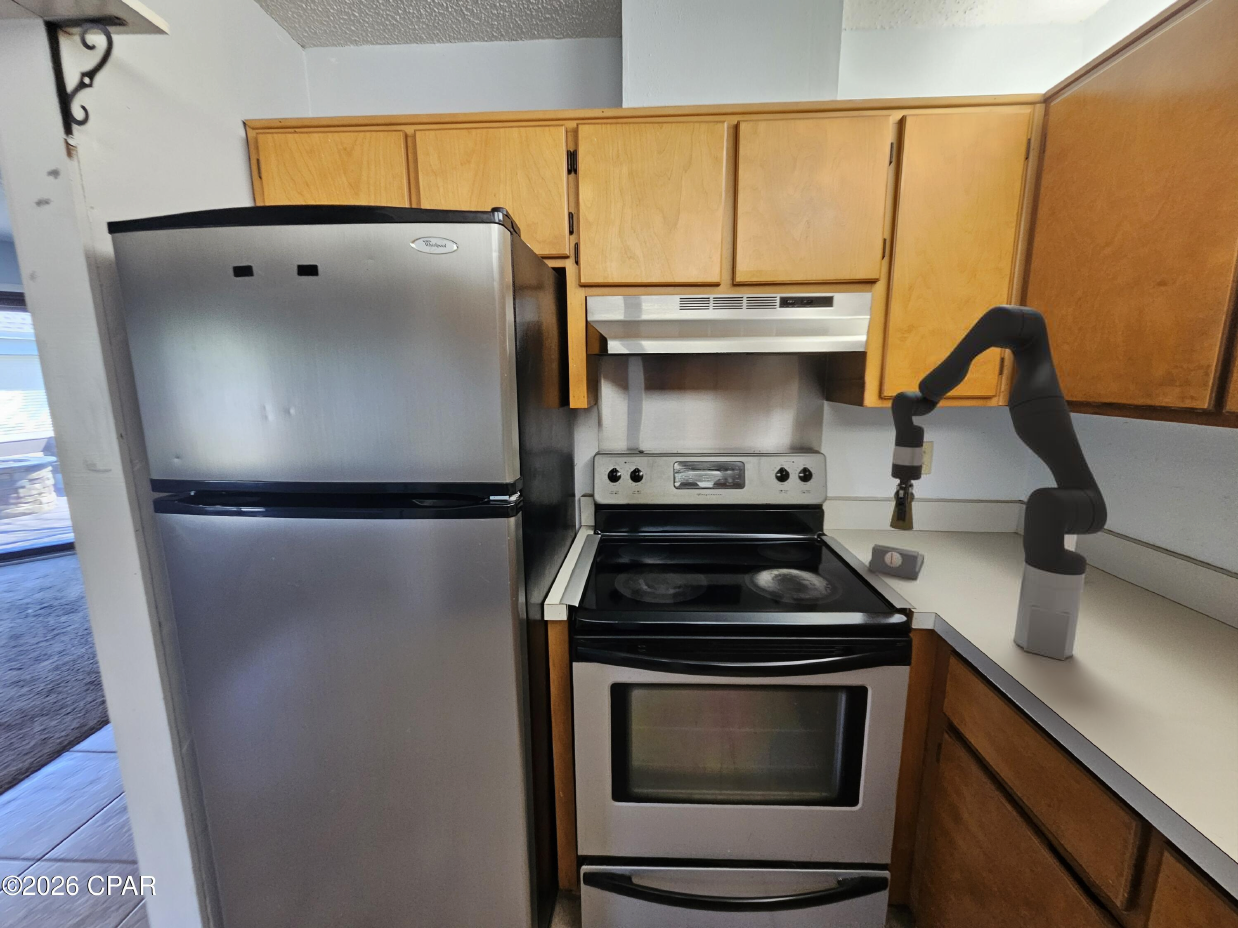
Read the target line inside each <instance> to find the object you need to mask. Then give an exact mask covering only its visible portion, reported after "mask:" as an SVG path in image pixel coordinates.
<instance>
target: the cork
mask: <svg viewBox="0 0 1238 928" xmlns="http://www.w3.org/2000/svg"><path fill="white" fill-rule="evenodd" d="M907 498H908V496H907ZM893 499H894V501H895V502H894V507H893V511H892V514H891V519H890V523H889V527H890V528H892V529H894V530H898V531H912V530H914V519H913V517H914V516H913V514H914V513H913V502H914V500H915V493H914V491H912V492H911V495H910V501H909V502H908V504H907V510H906V519H905V522H904V523H903V521H898V522H897V508H896V491H894V494H893ZM900 504H902V505H904V502H900Z"/></svg>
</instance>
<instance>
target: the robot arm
mask: <svg viewBox="0 0 1238 928" xmlns="http://www.w3.org/2000/svg"><path fill="white" fill-rule="evenodd" d="M991 348H995V349H1004V350H1005V349H1006V350H1010V352H1011V354H1012V356H1013V359H1014V362H1015V366H1016V379H1015V380H1014V381H1015V382H1014V384H1013V386H1012V388H1011V390H1010V393H1009V397H1008V401H1007V405H1008V406H1007V407H1008V410H1009V411H1008V412H1009V415H1010V418H1011V422H1012V426H1013V429H1014V432H1015V433H1016V435H1017V436H1018V437H1017V438H1019V439H1020V440H1021V441H1022V442H1023V444H1024V445H1025V446H1027V448H1028V449H1029V450H1030V451H1031V452H1032V453H1034V455H1036V456H1037V457H1038V458H1039V459H1040V460H1041V461H1042V462H1043V463H1044V464H1045V465H1046V467H1047V468H1048V469H1049V471H1050V472H1051V474H1052V476H1053V479H1054V481H1055V484H1056V486H1055V487H1054V486H1052V487H1048V486H1047V487H1040V488H1036V489H1035V490H1033V491H1032V492H1031V493H1030V494H1029V495H1028V498H1027V500H1026V503H1025V508H1024V516H1023V517H1024V519H1023V520H1024V521H1023V535H1022V546H1023V547H1022V548H1023V551H1024V560H1023V561H1024V562H1023V570H1022V576H1021V583H1020V588H1019V589H1020V590H1019V598H1018V604H1017V605H1018V606H1017V613H1016V620H1015V627H1014V637H1013V641H1014V642H1015V644H1017V646H1019V647H1021V648H1022V649H1023V651H1024V652H1028V653H1032V654H1036V655H1041V656H1044V657H1048V658H1053V659H1057V660H1060V661H1065V660H1066V659H1067V658H1070V657H1072V656H1073V653H1074V646H1075V640H1076V633H1077V626H1078V622H1079V621H1078V619H1079V614H1080V607H1081V600H1082V595H1083V588H1084V582H1085V577H1086V571H1087V565H1088V563H1087V562H1088V561H1087V558H1086V557H1085V556H1084V555H1082V554H1080V553H1078V552H1077V551H1075V552H1074V551H1071V550H1068V549H1065V545H1064V538H1065V535H1077V536H1079V535H1080V536H1081V535H1083V536H1084V535H1085V536H1086V535H1095V534H1097V533H1099V532H1102V530H1104V527H1105V526H1106V524H1107V522H1108V521H1107V520H1108V509H1107V504H1106V502H1105V497H1104V496H1103V494H1102V492H1101V489H1100V487H1099V484H1098V483H1097V480H1096V479H1095V477H1094V474H1093V473H1092V471H1091V468H1090V467H1089V464H1088V462H1087V460H1086V457H1085V455H1084V453H1083V449H1082V446H1081V443H1080V441H1079V439H1078V437H1077V433H1076V429H1075V427H1074V424H1073V421H1072V417H1071V412H1070V410H1069V406H1068V404H1067V403H1068V402H1067V400H1066V398H1065V395H1064V392H1063V390H1062V386H1061V384H1060V382H1059V377H1058V374H1057V373H1058V372H1057V370H1056V368H1055V365H1054V361H1053V357H1052V351H1051V345H1050V340H1049V333H1048V329H1047V323H1046V320H1045V318H1044V315H1043V314H1042V313H1041V312H1040V311H1039V310H1037V309H1035V308H1032V307H1029V306H1028V307H1027V306H1020V305H1011V304H1000V305H999V304H998V305H995V306H993V307H991V308H990V309H988V310H987V311H986V312H985V313H983V314H982V316H981V317H980V318H979V319H978V320H977V321H976V322H975V323H974V324H973V326H972V327H971V328H970V329H969V330H968V331H967V333H966V334H965V335H964V336H963V338H962V339H961V340H960V341H959V342H958V343H957V345H956V346H954V348H953V350H952V351H951V352H950V353H949V354H948V355H947V356H946V357H945V358H944V359H943V360H942V361H941V362H940V363H939V364H937V366H935V367H934V368H933V369H932V370H930V372H928V373H927V374H926V375H925V376H924V377H922V379H920V381H919V383H918V386H917V387H918V390H912V391H910V390H909V391H908V390H907V391H906V390H905V391H904V390H903V391H900V392H897V393H896V394H895V395H894V396H893V398H892V400H891V405H890V406H891V407H890V408H891V409H890V410H891V416H892V420H893V425H894V429H895V436H894V437H895V438H894V447H893V452H892V462H891V471H890V476H891V478H893V479H896V480H899V481H898V484H896V487H895V492H896V501H895V502H896V508H897V522H898V521H903V523H904V522H905V519H906V510H907V504H908V502H909V501H910V495H911V492H914V487H915V485H914V483H913V482H912V481H920V480H921V479H922V474H923V473H922V472H923V464H924V463H923V462H924V443H925V441H924V439H925V428H924V427H923V426H921V425H918V424H915V423H914V420H913V417H924V416H926V415H928V414H930V413H932V412H933V411H934V410H935V409H936V408H937V406H938V405H939V404H940V402H941V401H942V399H943V398H944V397H945V396H946V395H948V394H949V393H950V392H952V391H953V390H954V389H956V388H957V387H959V385H961V384H962V382H964V380H965V379H966V377H967V376H968V373H969V371H970V368H971V366H972V362H973V361H974V360H975V359H977V357H978V356H979V355H981V354H982V353H984V352H986V351H987V350H989V349H991ZM907 496H908V498H907ZM900 502H904V505H902V504H900Z"/></svg>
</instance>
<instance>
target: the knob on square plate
mask: <svg viewBox="0 0 1238 928" xmlns="http://www.w3.org/2000/svg"><path fill="white" fill-rule="evenodd" d="M919 552H920V551H918V550H912V549H907V548H899V547H894V546H889V545H882V544H877V543H875V544H873V546H872V547H871V559H870V560H869V562H868V571H870V570H871V572H874V573H875V572H876V573H879V574H881V573H882V574H886V575H892V576H895V577H901V578H906V579H910V580H916V581H917V580H918V578H919V575H920V574H921V573H920V572H921V570H922V567H923V565H924V563H925V554H922V553H919Z"/></svg>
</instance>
